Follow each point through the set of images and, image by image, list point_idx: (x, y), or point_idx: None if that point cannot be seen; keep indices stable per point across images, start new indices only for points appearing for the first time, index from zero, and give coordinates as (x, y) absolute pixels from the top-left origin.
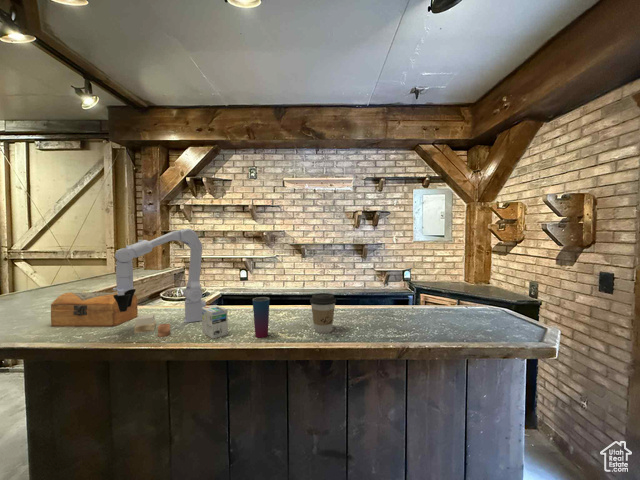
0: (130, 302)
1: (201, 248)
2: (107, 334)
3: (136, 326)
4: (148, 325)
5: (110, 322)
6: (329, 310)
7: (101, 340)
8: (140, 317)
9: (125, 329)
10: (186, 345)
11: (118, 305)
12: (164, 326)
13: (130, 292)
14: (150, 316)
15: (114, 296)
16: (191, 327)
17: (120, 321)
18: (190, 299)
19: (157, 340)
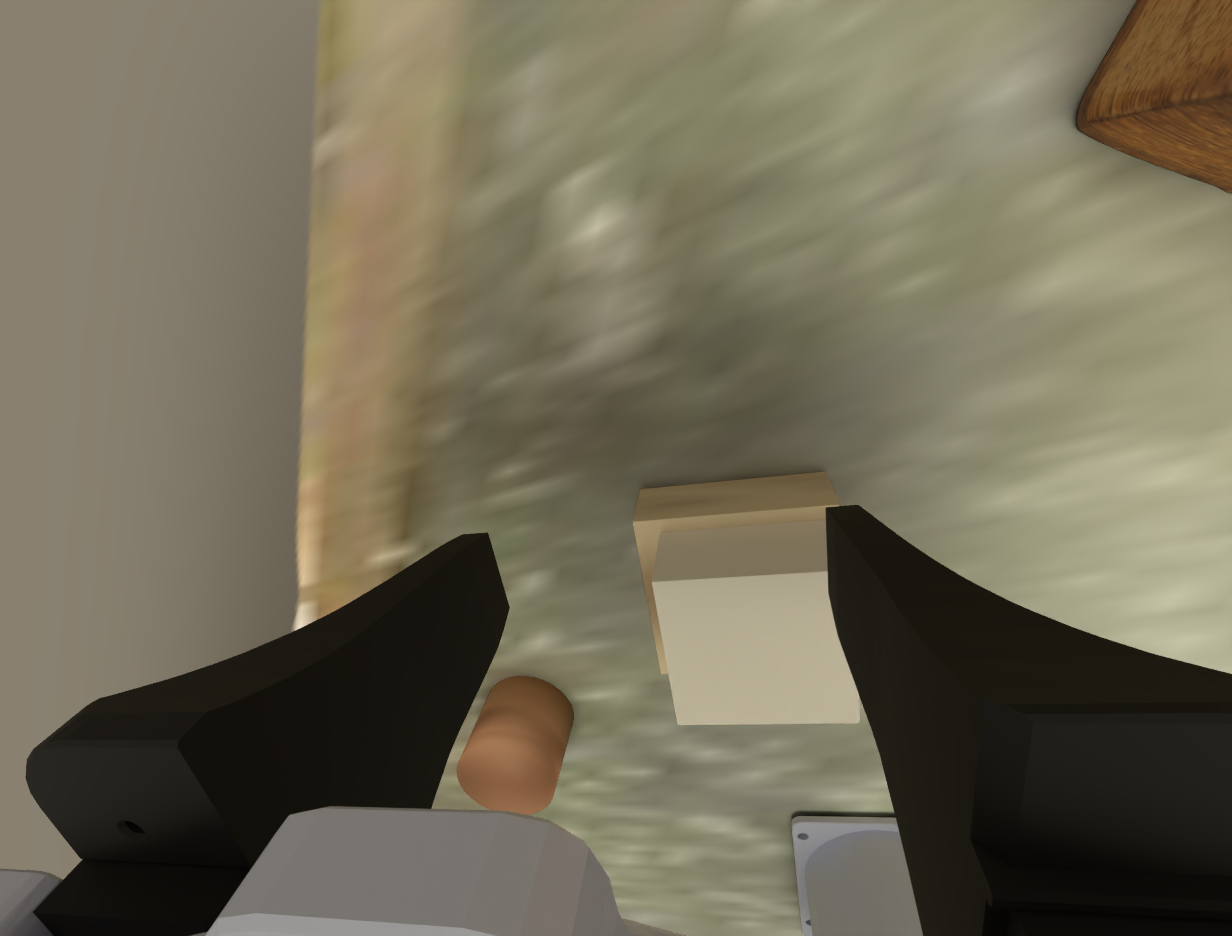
0: (852, 654)
1: None
2: (701, 198)
3: (653, 536)
4: (655, 634)
5: (1137, 50)
6: None
7: (498, 228)
8: (727, 611)
9: (831, 350)
10: None
11: (364, 599)
12: (470, 786)
13: (941, 926)
14: (729, 702)
15: (45, 755)
16: (653, 847)
17: (1212, 173)
18: None
19: None
